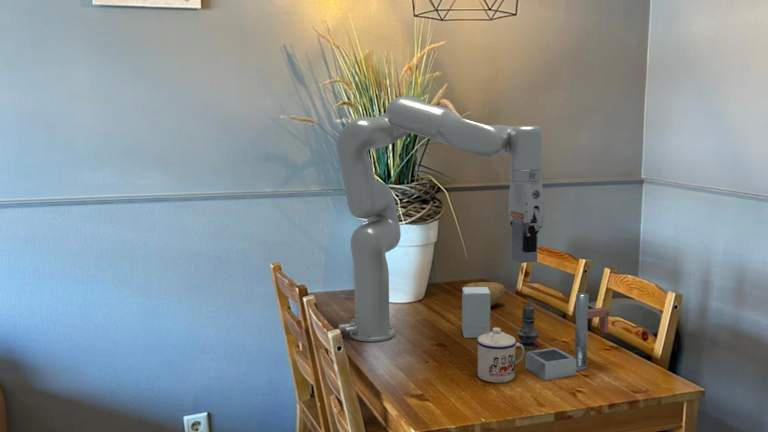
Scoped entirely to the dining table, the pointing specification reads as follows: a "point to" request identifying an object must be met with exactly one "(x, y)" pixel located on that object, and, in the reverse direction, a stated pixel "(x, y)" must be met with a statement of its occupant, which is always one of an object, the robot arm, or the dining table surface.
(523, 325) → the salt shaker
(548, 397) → the dining table surface
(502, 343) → the teacup with lid
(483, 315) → the supplement box
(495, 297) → the potato
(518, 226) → the grey tall block
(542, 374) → the water pump with trough
